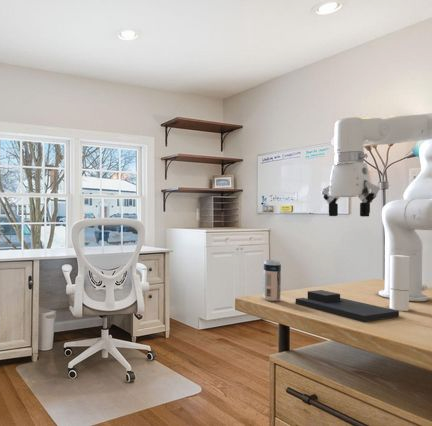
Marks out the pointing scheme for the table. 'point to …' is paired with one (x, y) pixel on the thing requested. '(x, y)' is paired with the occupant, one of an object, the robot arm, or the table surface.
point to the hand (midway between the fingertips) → (348, 216)
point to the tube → (399, 282)
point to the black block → (324, 296)
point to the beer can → (272, 280)
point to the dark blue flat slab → (351, 309)
